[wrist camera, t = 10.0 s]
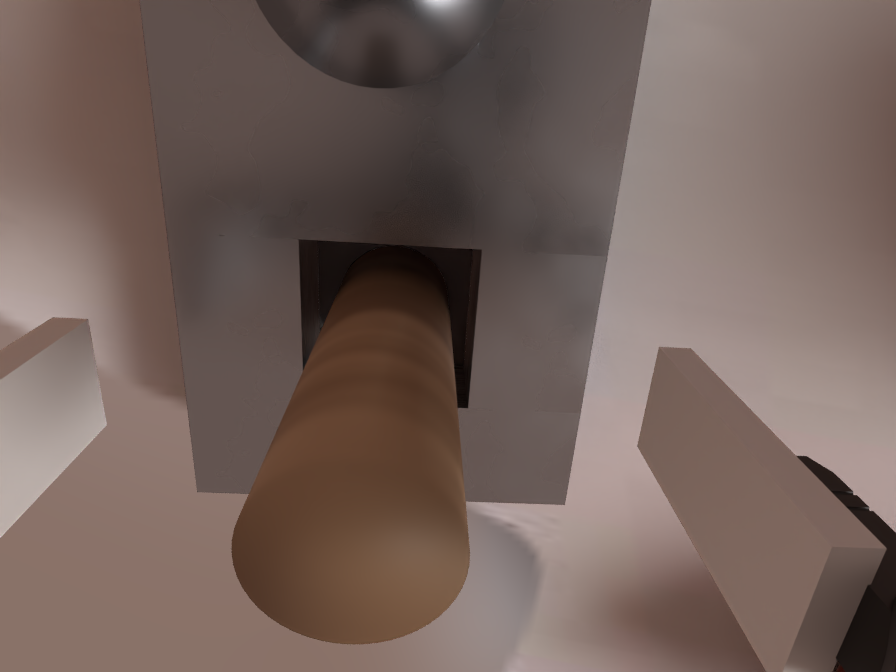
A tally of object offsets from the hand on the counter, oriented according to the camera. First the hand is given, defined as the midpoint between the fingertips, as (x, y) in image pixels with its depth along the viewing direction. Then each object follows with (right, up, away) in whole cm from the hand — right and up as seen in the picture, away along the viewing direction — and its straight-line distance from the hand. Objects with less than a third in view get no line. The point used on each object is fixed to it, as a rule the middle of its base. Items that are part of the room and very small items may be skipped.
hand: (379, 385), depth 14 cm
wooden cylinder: (0, +2, +6) cm, 7 cm away
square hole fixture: (0, +4, +5) cm, 7 cm away
